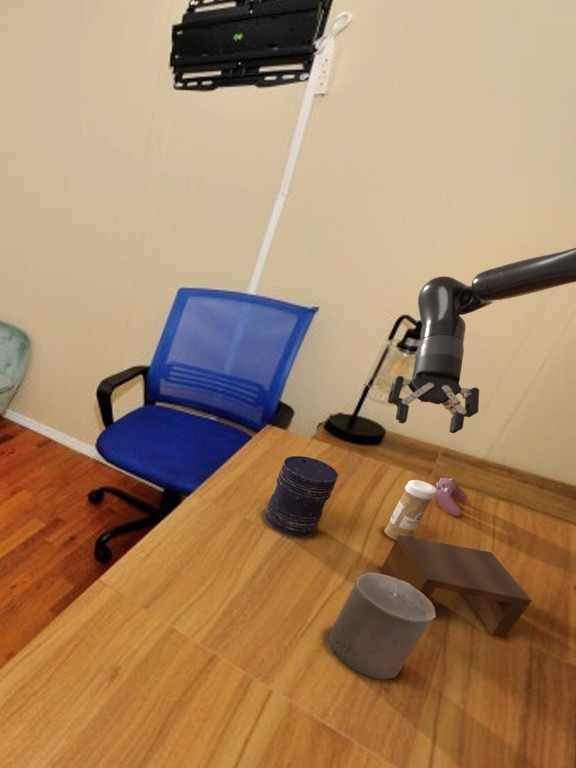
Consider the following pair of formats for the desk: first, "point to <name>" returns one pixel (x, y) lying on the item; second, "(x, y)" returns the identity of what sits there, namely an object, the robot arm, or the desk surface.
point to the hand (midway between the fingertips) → (427, 427)
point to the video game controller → (449, 495)
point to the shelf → (460, 578)
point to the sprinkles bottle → (410, 509)
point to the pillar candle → (380, 625)
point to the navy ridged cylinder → (300, 496)
